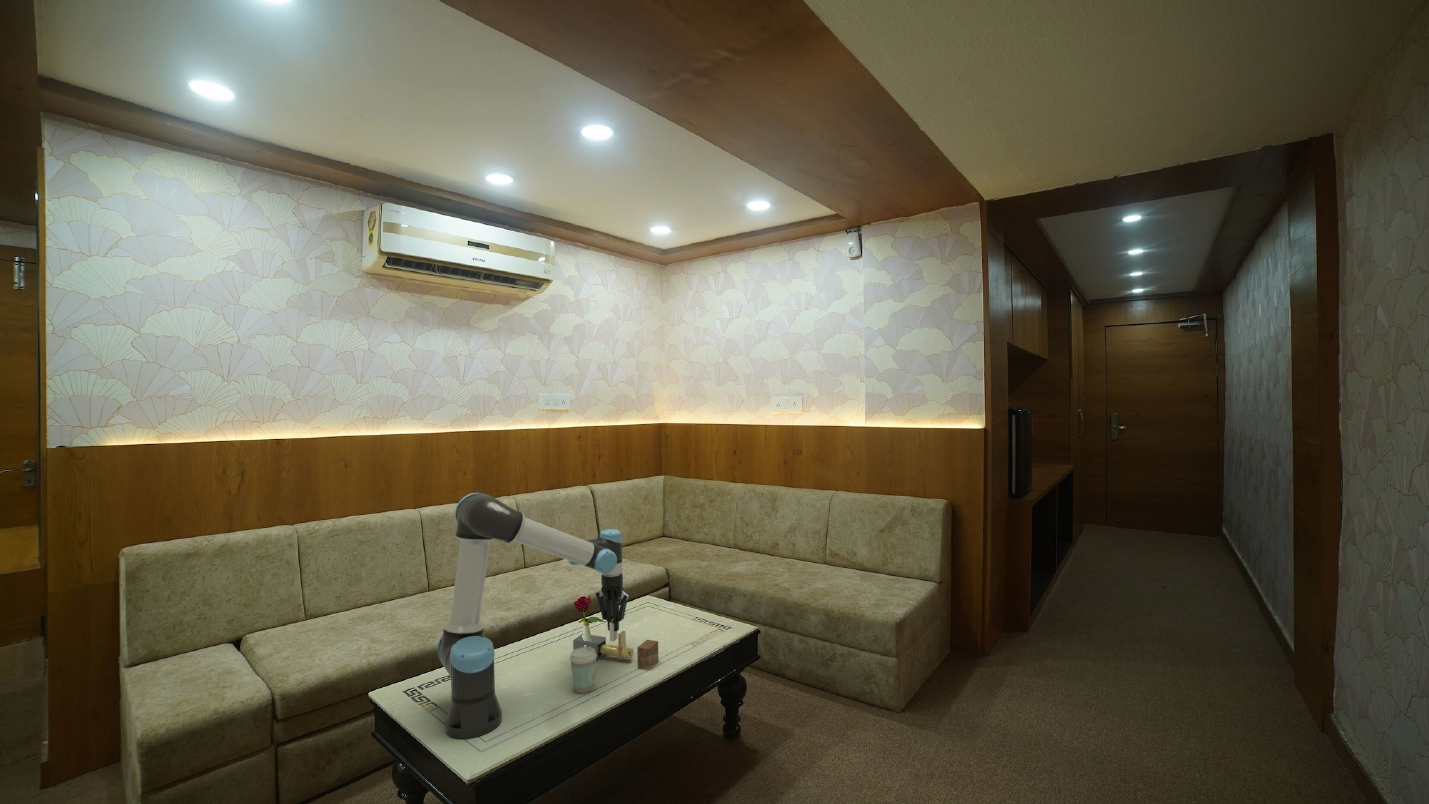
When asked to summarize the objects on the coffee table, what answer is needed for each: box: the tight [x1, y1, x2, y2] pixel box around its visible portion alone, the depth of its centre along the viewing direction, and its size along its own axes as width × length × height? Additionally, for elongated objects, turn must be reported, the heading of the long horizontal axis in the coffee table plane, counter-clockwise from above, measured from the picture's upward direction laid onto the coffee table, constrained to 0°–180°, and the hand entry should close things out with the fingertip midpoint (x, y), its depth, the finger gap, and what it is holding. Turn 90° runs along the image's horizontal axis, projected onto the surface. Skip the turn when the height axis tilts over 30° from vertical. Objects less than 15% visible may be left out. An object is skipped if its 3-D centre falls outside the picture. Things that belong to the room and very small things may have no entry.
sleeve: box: [572, 633, 607, 662], centre depth 217 cm, size 10×6×6 cm, turn 69°
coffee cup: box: [569, 647, 597, 694], centre depth 192 cm, size 9×8×12 cm
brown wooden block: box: [636, 639, 659, 671], centre depth 209 cm, size 4×7×7 cm, turn 159°
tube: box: [598, 630, 634, 660], centre depth 215 cm, size 23×3×9 cm, turn 69°
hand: (613, 639), depth 214 cm, fingers closed
